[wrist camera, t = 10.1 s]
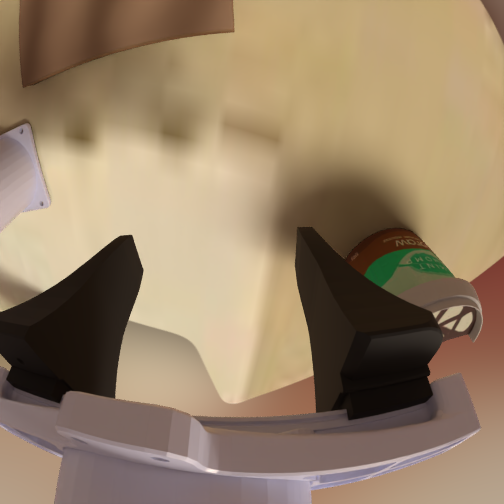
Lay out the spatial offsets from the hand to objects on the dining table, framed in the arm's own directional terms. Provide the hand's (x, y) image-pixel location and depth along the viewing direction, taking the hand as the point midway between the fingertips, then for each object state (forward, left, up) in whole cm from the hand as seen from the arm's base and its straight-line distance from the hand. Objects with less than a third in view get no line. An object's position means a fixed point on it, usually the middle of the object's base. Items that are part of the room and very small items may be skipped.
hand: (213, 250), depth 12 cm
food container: (+14, -7, -10) cm, 18 cm away
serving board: (-7, +18, -9) cm, 21 cm away
